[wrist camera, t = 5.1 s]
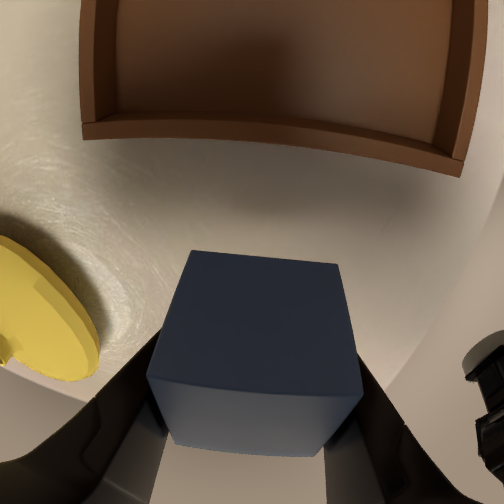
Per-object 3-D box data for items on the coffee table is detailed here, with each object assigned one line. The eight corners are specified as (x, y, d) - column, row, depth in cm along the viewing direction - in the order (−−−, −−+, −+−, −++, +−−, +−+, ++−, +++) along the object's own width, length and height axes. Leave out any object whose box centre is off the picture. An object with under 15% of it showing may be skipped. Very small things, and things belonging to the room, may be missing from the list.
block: (310, 352, 10) (314, 457, 7) (198, 341, 11) (174, 444, 7) (338, 263, 8) (365, 394, 5) (190, 248, 8) (144, 375, 5)
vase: (14, 334, 26) (-13, 381, 20) (-43, 212, 17) (-92, 259, 11) (131, 369, 26) (108, 433, 20) (82, 219, 17) (16, 296, 11)
